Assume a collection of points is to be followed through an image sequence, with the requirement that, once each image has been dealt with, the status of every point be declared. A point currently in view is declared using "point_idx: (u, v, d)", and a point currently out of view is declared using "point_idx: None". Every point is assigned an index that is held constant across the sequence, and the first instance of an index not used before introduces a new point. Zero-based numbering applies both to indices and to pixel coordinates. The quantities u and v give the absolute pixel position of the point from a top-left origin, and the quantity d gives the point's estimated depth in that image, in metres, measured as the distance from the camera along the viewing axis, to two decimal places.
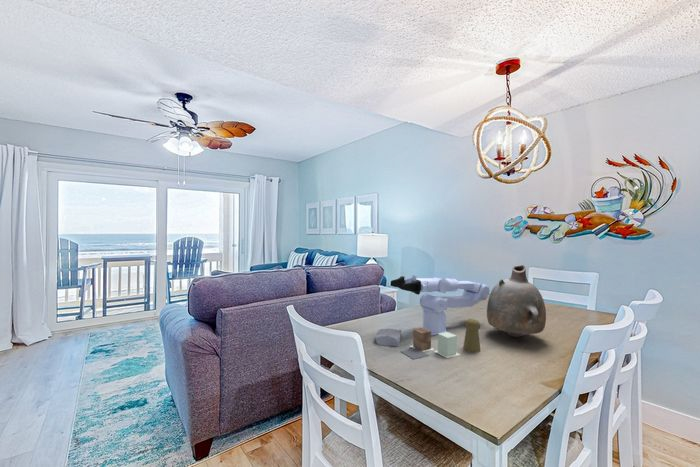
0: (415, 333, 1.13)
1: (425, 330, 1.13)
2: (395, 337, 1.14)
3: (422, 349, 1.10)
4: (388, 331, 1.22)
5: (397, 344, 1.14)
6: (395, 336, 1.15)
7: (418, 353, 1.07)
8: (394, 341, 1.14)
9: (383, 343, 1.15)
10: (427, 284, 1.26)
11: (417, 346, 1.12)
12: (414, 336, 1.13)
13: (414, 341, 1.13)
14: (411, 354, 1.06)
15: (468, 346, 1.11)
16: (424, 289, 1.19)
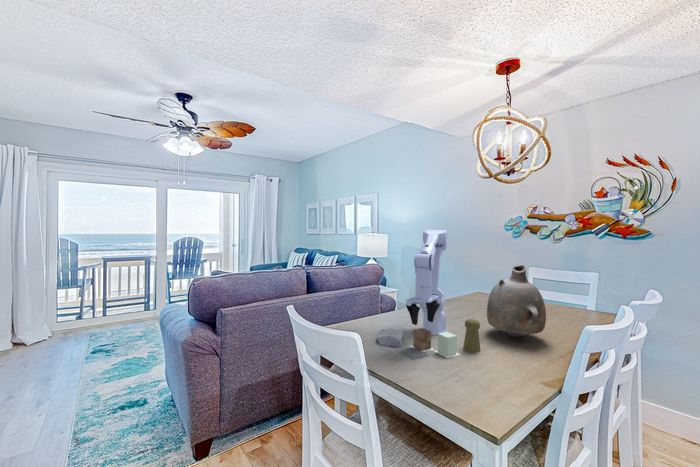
0: (415, 333, 1.13)
1: (425, 330, 1.13)
2: (397, 337, 1.14)
3: (422, 349, 1.10)
4: (390, 331, 1.21)
5: (399, 344, 1.14)
6: (397, 336, 1.15)
7: (418, 353, 1.07)
8: (396, 341, 1.14)
9: (385, 343, 1.15)
10: None
11: (417, 346, 1.12)
12: (414, 336, 1.13)
13: (414, 341, 1.13)
14: (411, 354, 1.06)
15: (468, 346, 1.11)
16: None
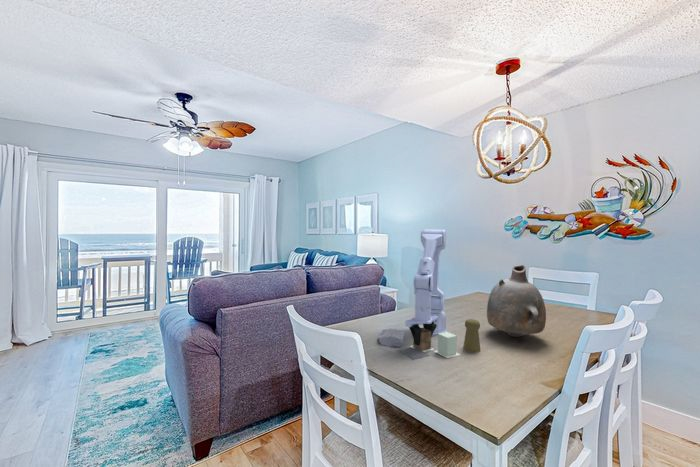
0: None
1: (425, 330, 1.13)
2: (399, 337, 1.14)
3: (422, 349, 1.10)
4: (391, 331, 1.21)
5: (401, 344, 1.14)
6: (399, 336, 1.15)
7: (418, 353, 1.07)
8: (398, 341, 1.14)
9: (387, 343, 1.15)
10: None
11: (417, 346, 1.12)
12: None
13: None
14: (411, 354, 1.06)
15: (468, 346, 1.11)
16: None
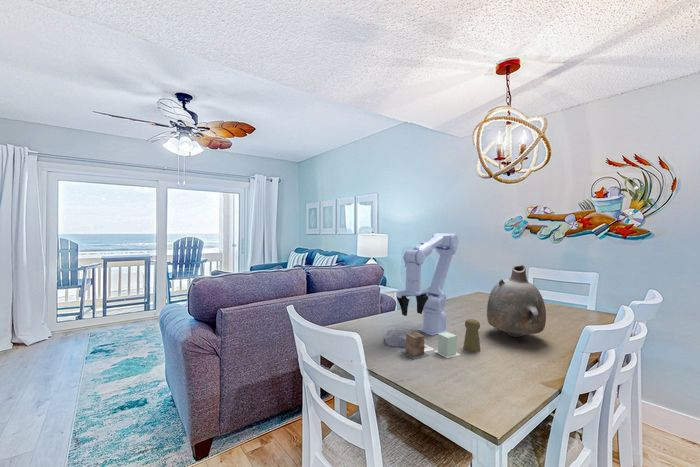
0: (408, 338, 1.07)
1: (418, 335, 1.07)
2: (405, 338, 1.14)
3: (415, 355, 1.05)
4: (397, 332, 1.21)
5: None
6: (405, 337, 1.14)
7: None
8: (404, 342, 1.13)
9: (393, 344, 1.14)
10: None
11: (410, 352, 1.06)
12: (407, 341, 1.08)
13: (407, 346, 1.08)
14: None
15: (468, 346, 1.11)
16: None
